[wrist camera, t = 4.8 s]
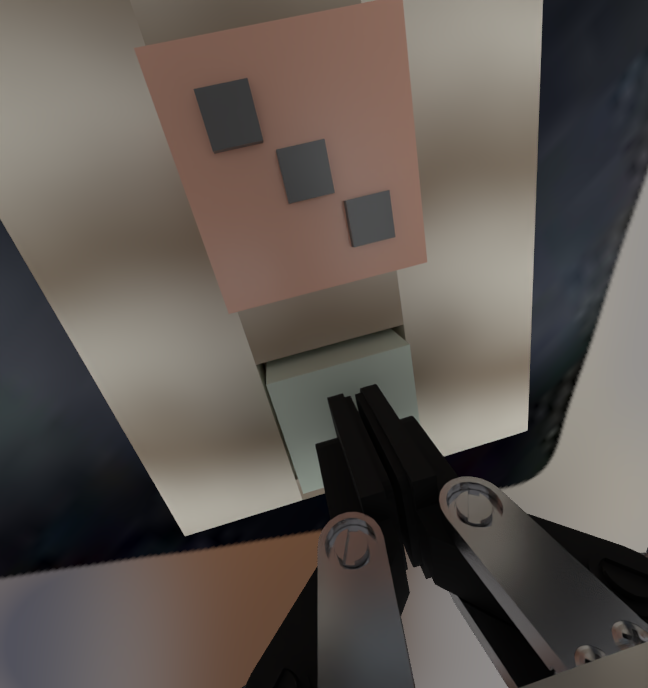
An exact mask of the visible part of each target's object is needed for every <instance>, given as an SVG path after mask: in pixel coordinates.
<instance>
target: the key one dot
mask: <svg viewBox="0 0 648 688" xmlns="http://www.w3.org/2000/svg"><path fill="white" fill-rule="evenodd" d="M373 384H377V385H378V387H379V388H380V390H381V392H382V393H383V395H384V396H385V398H386V399H387V401H388V402H389V404H390V405H391V407H392V408H393V410H394V411H395V413H396V414H397V416H398V417H399V419H402V418H405V417H408V416H413V417H414V418H415V419H416V420H417V421H418V423H419V424H420V420H419V413H418V405H417V397H416V389H415V381H414V373H413V365H412V358H411V350H410V344H409V343H407V342H406V341H405V340H404V339H403V338H401V337H400V336H399V335H398V334H397V333H396V332H394V331H393V330H392V329H391V328H389V329H385V330H381V331H378V332H374V333H371V334H367V335H363V336H360V337H356V338H352V339H349V340H345V341H341V342H338V343H334V344H330V345H327V346H323V347H320V348H316V349H312V350H309V351H305V352H301V353H298V354H294V355H290V356H287V357H283V358H279V359H276V360H272V361H268V362H267V366H266V386H267V389H268V392H269V395H270V397H271V400H272V403H273V406H274V409H275V412H276V415H277V418H278V421H279V424H280V427H281V430H282V433H283V436H284V439H285V442H286V445H287V447H288V450H289V453H290V456H291V459H292V462H293V465H294V468H295V471H296V474H297V477H298V480H299V483H300V486H301V489H302V492H303V494H305V493H308V492H311V491H315V490H318V489H321V488H324V485H323V481H322V476H321V471H320V466H319V461H318V456H317V452H316V447H315V444H317V443H320V442H324V441H327V440H330V439H334V438H337V435H336V431H335V428H334V424H333V420H332V416H331V412H330V408H329V404H328V400H327V397H331V396H334V395H338V394H341V393H343V394H344V397H347V396H351V398H352V400H353V402H354V404H355V406H356V409H357V411H358V408H357V403H356V398H355V394H358V393H360V388H363V387H366V386H370V385H373ZM358 413H359V412H358Z"/></svg>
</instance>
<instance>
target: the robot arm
mask: <svg viewBox="0 0 648 688" xmlns="http://www.w3.org/2000/svg"><path fill="white" fill-rule="evenodd" d="M355 398H356V403H357V408H358V411H357V409H356V406H355V404H354V402H353V400H352V398H351V396H347V397H344V394H343V393H341V394H338V395H334V396H331V397H327V400H328V404H329V408H330V412H331V416H332V420H333V424H334V428H335V431H336V435H337V438H334V439H330V440H327V441H324V442H320V443H317V444H315V447H316V452H317V456H318V461H319V466H320V471H321V476H322V481H323V485H324V490H325V495H326V500H327V505H328V509H329V514H330V519H331V520H330V521H329V522H328V524H327V525H326V526H325V527H324V528H323V530H322V532H321V535H320V537H319V542H318V566H317V568H316V570H315V571H314V573H313V574H312V576H311V577H310V579H309V581H308V582H307V584H306V586H305V587H304V589H303V590H302V592H301V594H300V595H299V597H298V599H297V600H296V602H295V603H294V605H293V607H292V608H291V610H290V612H289V613H288V615H287V617H286V618H285V620H284V621H283V623H282V625H281V626H280V628H279V629H278V631H277V633H276V634H275V636H274V638H273V639H272V641H271V642H270V644H269V646H268V647H267V649H266V650H265V652H264V654H263V655H262V657H261V659H260V660H259V662H258V663H257V665H256V667H255V669H254V670H253V672H252V673H251V675H250V677H249V679H248V681H247V684H246V685H245V686H244V687H242V688H415V683H414V679H413V674H412V668H411V664H410V659H409V654H408V649H407V644H406V639H405V634H404V630H403V624H402V619H401V614H402V612H403V609H404V606H405V604H406V601H407V598H408V596H409V593H410V592H409V586H408V581H407V575H406V570H407V569H408V568H407V562H406V557H405V551H404V547H405V549H406V552H407V554H408V556H409V559H410V561H411V563H412V565H413V567H417V566H421V568H422V571H423V573H424V575H425V578H426V579H428V578H431V577H432V579H433V581H434V583H435V584H436V585H438V586H440V587H441V588H443V589H445V590H447V591H449V593H450V595H451V597H452V599H453V601H454V603H455V605H456V606H457V608H458V609H459V611H460V613H461V614H462V616H463V617H464V619H465V620H466V622H467V623H468V625H469V627H470V628H471V630H472V631H473V633H474V635H475V636H476V638H477V639H478V641H479V642H480V644H481V646H482V647H483V648H484V650H485V652H486V653H487V655H488V657H489V658H490V660H491V661H492V663H493V664H494V666H495V668H496V669H497V670H498V672H499V674H500V675H501V677H502V678H503V680H504V682H505V683H506V685H507V686H508V688H648V548H647V551H646V553H638V552H636V551H634V550H631V549H629V548H627V547H625V546H622V545H619V544H616V543H613V542H610V541H607V540H604V539H601V538H598V537H595V536H592V535H589V534H586V533H583V532H580V531H577V530H574V529H571V528H568V527H565V526H562V525H560V524H556V523H554V522H551V521H547V520H545V519H541V518H538V517H536V516H533V515H530V514H526V513H525V512H524V511H523V510H522V509H521V508H520V507H519V506H518V505H516V504H515V503H514V502H513V501H512V500H511V499H510V498H509V497H508V496H507V495H506V494H504V493H503V492H502V491H501V490H500V489H499V488H497V487H496V486H495V485H493V484H492V483H490V482H487V481H485V480H483V479H480V478H475V477H458V475H457V474H456V473H455V471H454V470H453V469H452V467H451V466H450V465H449V463H448V462H447V461H446V459H445V458H444V456H443V455H442V454H441V452H440V451H439V450H438V448H437V447H436V446H435V444H434V443H433V442H432V440H431V439H430V437H429V436H428V435H427V433H426V432H425V431H424V429H423V428H422V427H421V425H420V424H419V423H418V421H417V420H416V419H415V418H414V417H413V416H408V417H405V418H402V419H399V417H398V416H397V414H396V413H395V411H394V410H393V408H392V407H391V405H390V404H389V402H388V401H387V399H386V398H385V396H384V395H383V393H382V392H381V390H380V388H379V387H378V385H377V384H373V385H370V386H366V387H363V388H360V393H358V394H355ZM358 412H359V413H358ZM403 544H404V545H403Z"/></svg>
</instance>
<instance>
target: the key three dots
mask: <svg viewBox="0 0 648 688" xmlns="http://www.w3.org/2000/svg"><path fill="white" fill-rule="evenodd" d="M134 50H135V53H136V56H137V59H138V62H139V64H140V67H141V70H142V73H143V76H144V78H145V81H146V84H147V87H148V90H149V92H150V95H151V98H152V101H153V104H154V106H155V109H156V112H157V115H158V117H159V120H160V123H161V126H162V129H163V131H164V134H165V137H166V140H167V143H168V145H169V148H170V151H171V154H172V157H173V159H174V162H175V165H176V168H177V171H178V173H179V176H180V179H181V182H182V185H183V187H184V190H185V193H186V196H187V199H188V201H189V204H190V207H191V210H192V213H193V215H194V218H195V221H196V224H197V227H198V229H199V232H200V235H201V238H202V241H203V243H204V246H205V249H206V252H207V255H208V257H209V260H210V263H211V266H212V268H213V271H214V274H215V277H216V280H217V282H218V285H219V288H220V291H221V294H222V296H223V299H224V302H225V305H226V308H227V310H228V313H229V314H231V313H235V312H239V311H243V310H246V309H250V308H254V307H258V306H262V305H265V304H269V303H273V302H277V301H281V300H285V299H288V298H292V297H296V296H300V295H304V294H308V293H311V292H315V291H319V290H323V289H327V288H331V287H334V286H338V285H342V284H346V283H350V282H354V281H357V280H361V279H365V278H369V277H373V276H376V275H380V274H384V273H388V272H392V271H396V270H399V269H403V268H407V267H411V266H415V265H419V264H422V263H426V262H427V254H426V243H425V232H424V221H423V211H422V200H421V189H420V179H419V168H418V157H417V147H416V136H415V125H414V115H413V104H412V93H411V82H410V72H409V61H408V50H407V40H406V29H405V18H404V8H403V0H375V1H370V2H365V3H360V4H355V5H350V6H345V7H340V8H335V9H330V10H325V11H319V12H314V13H309V14H304V15H299V16H294V17H289V18H284V19H279V20H274V21H269V22H264V23H258V24H253V25H248V26H243V27H238V28H233V29H228V30H223V31H218V32H213V33H208V34H203V35H197V36H192V37H187V38H182V39H177V40H172V41H167V42H162V43H157V44H152V45H147V46H142V47H136V48H134Z"/></svg>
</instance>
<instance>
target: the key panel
mask: <svg viewBox="0 0 648 688" xmlns="http://www.w3.org/2000/svg"><path fill="white" fill-rule="evenodd" d="M370 1H375V0H0V219H1V221H2V223H3V224H4V226H5V228H6V230H7V231H8V233H9V235H10V236H11V238H12V240H13V242H14V243H15V245H16V247H17V248H18V250H19V252H20V254H21V255H22V257H23V259H24V260H25V262H26V264H27V266H28V267H29V269H30V271H31V272H32V274H33V276H34V278H35V279H36V281H37V283H38V284H39V286H40V288H41V290H42V291H43V293H44V295H45V297H46V298H47V300H48V302H49V303H50V305H51V307H52V309H53V310H54V312H55V314H56V315H57V317H58V319H59V321H60V322H61V324H62V326H63V327H64V329H65V331H66V333H67V334H68V336H69V338H70V339H71V341H72V343H73V345H74V346H75V348H76V350H77V351H78V353H79V355H80V357H81V358H82V360H83V362H84V363H85V365H86V367H87V369H88V370H89V372H90V374H91V375H92V377H93V379H94V381H95V382H96V384H97V386H98V388H99V389H100V391H101V393H102V394H103V396H104V398H105V400H106V401H107V403H108V405H109V406H110V408H111V410H112V412H113V413H114V415H115V417H116V418H117V420H118V422H119V424H120V425H121V427H122V429H123V430H124V432H125V434H126V436H127V437H128V439H129V441H130V442H131V444H132V446H133V448H134V449H135V451H136V453H137V454H138V456H139V458H140V460H141V461H142V463H143V465H144V466H145V468H146V470H147V472H148V473H149V475H150V477H151V479H152V480H153V482H154V484H155V485H156V487H157V489H158V491H159V492H160V494H161V496H162V497H163V499H164V501H165V503H166V504H167V506H168V508H169V509H170V511H171V513H172V515H173V516H174V518H175V520H176V521H177V523H178V525H179V527H180V528H181V530H182V532H183V533H184V535H185V536H187V535H191V534H194V533H197V532H200V531H203V530H207V529H210V528H213V527H216V526H220V525H223V524H226V523H229V522H233V521H236V520H239V519H242V518H246V517H249V516H252V515H255V514H259V513H262V512H265V511H268V510H272V509H275V508H278V507H281V506H285V505H288V504H291V503H294V502H298V501H301V500H304V499H307V498H310V497H314V496H317V495H320V494H323V493H325V490H324V488H321V489H318V490H315V491H311V492H308V493H305V494H303V492H302V489H301V486H300V483H299V480H298V477H297V474H296V471H295V468H294V465H293V462H292V459H291V456H290V453H289V450H288V447H287V445H286V442H285V439H284V436H283V433H282V430H281V427H280V424H279V421H278V418H277V415H276V412H275V409H274V406H273V403H272V400H271V397H270V395H269V392H268V389H267V386H266V366H267V362H268V361H272V360H276V359H279V358H283V357H287V356H290V355H294V354H298V353H301V352H305V351H309V350H312V349H316V348H320V347H323V346H327V345H330V344H334V343H338V342H341V341H345V340H349V339H352V338H356V337H360V336H363V335H367V334H371V333H374V332H378V331H381V330H385V329H389V328H391V329H392V330H393V331H394V332H396V333H397V334H398V335H399V336H400V337H401V338H403V339H404V340H405V341H406V342H407V343H409V344H410V350H411V358H412V365H413V373H414V381H415V389H416V397H417V405H418V413H419V420H420V425H421V427H422V428H423V429H424V431H425V432H426V433H427V435H428V436H429V437H430V439H431V440H432V442H433V443H434V444H435V446H436V447H437V448H438V450H439V451H440V452H441V454H442V455H443V456H447V455H450V454H453V453H456V452H460V451H463V450H466V449H469V448H473V447H476V446H479V445H482V444H486V443H489V442H492V441H495V440H499V439H502V438H505V437H508V436H512V435H515V434H518V433H521V432H524V431H527V430H528V402H529V374H530V346H531V319H532V291H533V263H534V235H535V207H536V179H537V151H538V123H539V95H540V67H541V39H542V11H543V0H403V8H404V18H405V29H406V40H407V50H408V61H409V72H410V82H411V93H412V104H413V115H414V125H415V136H416V147H417V157H418V168H419V179H420V189H421V200H422V211H423V221H424V232H425V243H426V254H427V262H426V263H422V264H419V265H415V266H411V267H407V268H403V269H399V270H396V271H392V272H388V273H384V274H380V275H376V276H373V277H369V278H365V279H361V280H357V281H354V282H350V283H346V284H342V285H338V286H334V287H331V288H327V289H323V290H319V291H315V292H311V293H308V294H304V295H300V296H296V297H292V298H288V299H285V300H281V301H277V302H273V303H269V304H265V305H262V306H258V307H254V308H250V309H246V310H243V311H239V312H235V313H231V314H229V313H228V310H227V308H226V305H225V302H224V299H223V296H222V294H221V291H220V288H219V285H218V282H217V280H216V277H215V274H214V271H213V268H212V266H211V263H210V260H209V257H208V255H207V252H206V249H205V246H204V243H203V241H202V238H201V235H200V232H199V229H198V227H197V224H196V221H195V218H194V215H193V213H192V210H191V207H190V204H189V201H188V199H187V196H186V193H185V190H184V187H183V185H182V182H181V179H180V176H179V173H178V171H177V168H176V165H175V162H174V159H173V157H172V154H171V151H170V148H169V145H168V143H167V140H166V137H165V134H164V131H163V129H162V126H161V123H160V120H159V117H158V115H157V112H156V109H155V106H154V104H153V101H152V98H151V95H150V92H149V90H148V87H147V84H146V81H145V78H144V76H143V73H142V70H141V67H140V64H139V62H138V59H137V56H136V53H135V50H134V48H136V47H142V46H147V45H152V44H157V43H162V42H167V41H172V40H177V39H182V38H187V37H192V36H197V35H203V34H208V33H213V32H218V31H223V30H228V29H233V28H238V27H243V26H248V25H253V24H258V23H264V22H269V21H274V20H279V19H284V18H289V17H294V16H299V15H304V14H309V13H314V12H319V11H325V10H330V9H335V8H340V7H345V6H350V5H355V4H360V3H365V2H370Z"/></svg>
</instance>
